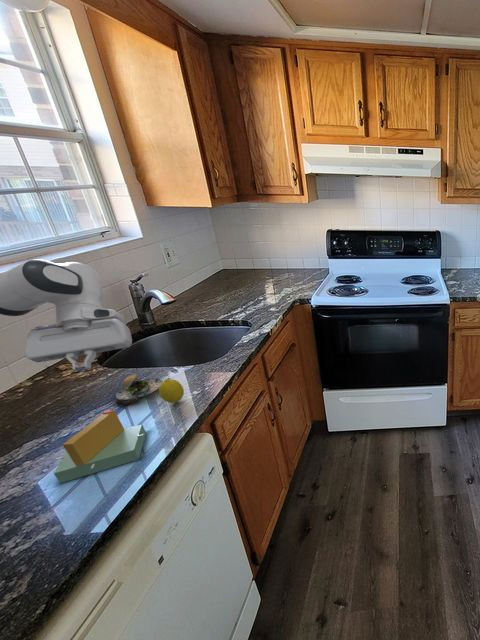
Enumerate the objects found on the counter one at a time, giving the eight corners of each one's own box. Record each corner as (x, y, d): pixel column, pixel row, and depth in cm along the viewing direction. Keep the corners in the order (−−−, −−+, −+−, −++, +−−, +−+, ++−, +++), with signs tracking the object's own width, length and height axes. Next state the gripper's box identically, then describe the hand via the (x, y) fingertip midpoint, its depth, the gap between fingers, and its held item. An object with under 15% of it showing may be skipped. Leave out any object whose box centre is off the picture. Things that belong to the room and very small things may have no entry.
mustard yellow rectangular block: (84, 464, 81) (71, 443, 78) (75, 465, 81) (61, 443, 78) (124, 429, 92) (114, 409, 89) (116, 430, 92) (105, 409, 89)
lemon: (180, 395, 111) (171, 372, 107) (191, 399, 108) (182, 376, 105) (160, 405, 106) (150, 382, 103) (171, 410, 104) (161, 386, 100)
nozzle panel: (49, 493, 78) (41, 483, 76) (73, 448, 90) (67, 438, 89) (143, 464, 85) (137, 454, 83) (153, 426, 98) (148, 416, 96)
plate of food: (136, 406, 106) (126, 385, 103) (106, 402, 108) (94, 380, 105) (174, 384, 116) (165, 364, 113) (145, 381, 119) (136, 361, 116)
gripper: (18, 323, 89) (16, 375, 85) (121, 309, 97) (124, 357, 93) (36, 333, 95) (36, 382, 91) (133, 319, 102) (136, 364, 98)
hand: (81, 369), depth 92 cm, fingers closed
